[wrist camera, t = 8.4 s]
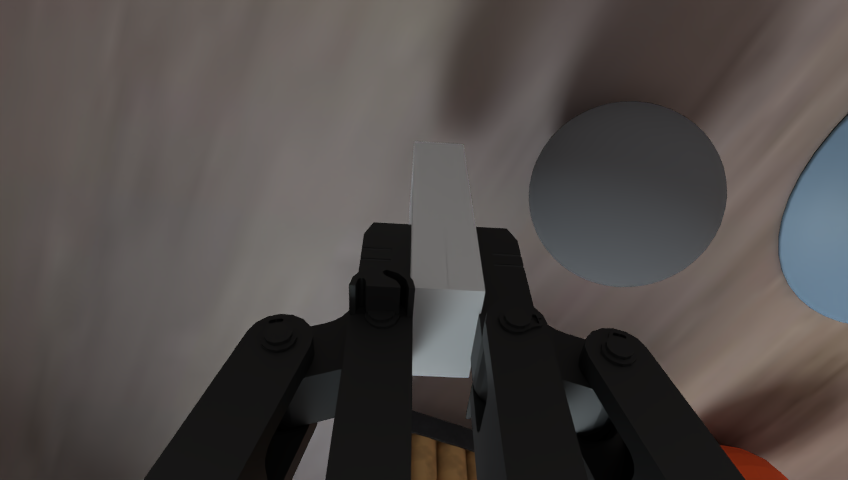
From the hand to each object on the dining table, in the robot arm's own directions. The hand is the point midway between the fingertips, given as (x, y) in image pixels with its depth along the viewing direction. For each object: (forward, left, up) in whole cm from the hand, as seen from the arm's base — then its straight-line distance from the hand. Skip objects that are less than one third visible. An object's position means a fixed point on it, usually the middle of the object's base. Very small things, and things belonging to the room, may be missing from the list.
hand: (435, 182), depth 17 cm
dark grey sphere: (+6, 0, +1) cm, 6 cm away
